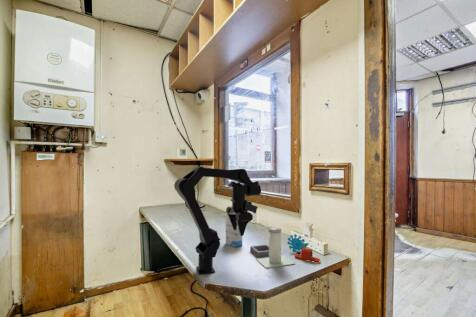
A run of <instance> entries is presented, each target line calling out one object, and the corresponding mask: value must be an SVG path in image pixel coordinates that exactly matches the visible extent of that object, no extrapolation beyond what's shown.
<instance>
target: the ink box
mask: <svg viewBox="0 0 476 317" xmlns="http://www.w3.org/2000/svg"><path fill="white" fill-rule="evenodd" d="M225 245H229V246H231V247H235V248H239V247H242V246H243V236H241V235H240V232H239V229H238V225H237V229H236V230H234V229H233V227H232V224H231V222H230V219H229V217H228V216H226V217H225Z"/></svg>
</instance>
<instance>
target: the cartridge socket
mask: <svg viewBox="0 0 476 317" xmlns="http://www.w3.org/2000/svg"><path fill="white" fill-rule="evenodd" d="M249 249H250V253H252V255H254V256H255V258H256V259H257V258H265V257H269V244H260V245H250V247H249Z"/></svg>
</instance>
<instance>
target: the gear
mask: <svg viewBox="0 0 476 317" xmlns="http://www.w3.org/2000/svg"><path fill="white" fill-rule="evenodd" d="M289 236H290V237H288V238H287V245H288V248H289V250H292V252H293V253H296V254H298V253H300V254H301V252H302V248H307V247H308V246H309V243H308V242H307V243H306V242H305V241H306V240H305V239H304V238H302V235H299V236H298V235H297V234H294V235H293V234H290V235H289Z"/></svg>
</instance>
